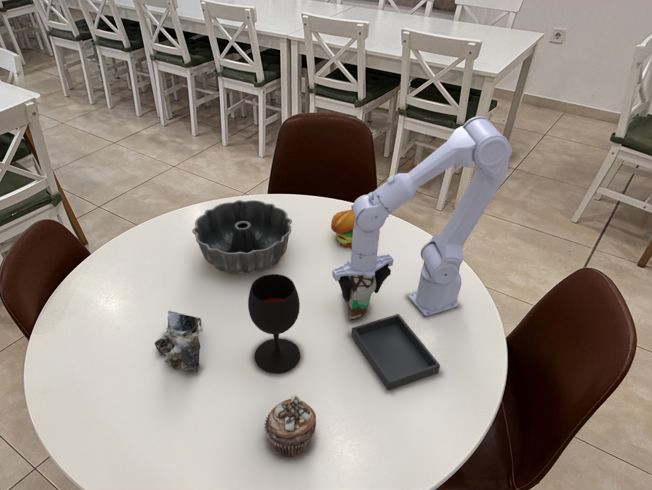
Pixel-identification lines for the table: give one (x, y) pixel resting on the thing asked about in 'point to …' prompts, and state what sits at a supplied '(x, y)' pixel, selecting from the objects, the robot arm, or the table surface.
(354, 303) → the food container
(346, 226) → the cheeseburger
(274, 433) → the cupcake
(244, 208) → the bundt pan
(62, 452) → the table surface
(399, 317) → the dark gray tray
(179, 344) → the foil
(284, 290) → the wine glass
